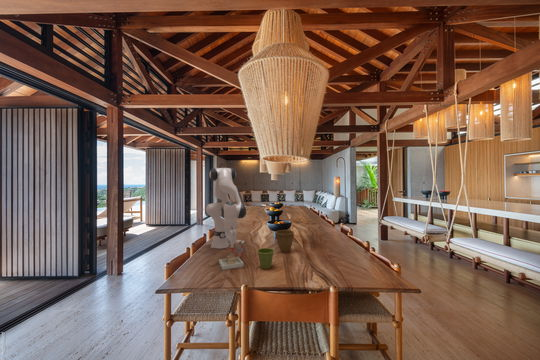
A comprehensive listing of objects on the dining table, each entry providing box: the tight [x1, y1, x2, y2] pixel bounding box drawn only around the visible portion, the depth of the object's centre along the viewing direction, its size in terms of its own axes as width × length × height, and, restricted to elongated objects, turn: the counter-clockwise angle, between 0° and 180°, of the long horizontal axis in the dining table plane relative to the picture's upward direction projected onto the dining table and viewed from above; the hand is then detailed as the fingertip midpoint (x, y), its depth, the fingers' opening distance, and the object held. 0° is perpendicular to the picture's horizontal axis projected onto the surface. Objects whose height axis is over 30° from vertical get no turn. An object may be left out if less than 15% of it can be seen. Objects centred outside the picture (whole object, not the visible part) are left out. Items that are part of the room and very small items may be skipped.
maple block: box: [226, 255, 235, 265], centre depth 165 cm, size 5×5×5 cm
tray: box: [218, 257, 245, 271], centre depth 165 cm, size 14×14×3 cm
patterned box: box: [227, 239, 246, 259], centre depth 186 cm, size 21×6×12 cm, turn 168°
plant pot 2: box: [275, 229, 295, 253], centre depth 195 cm, size 15×15×16 cm
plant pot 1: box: [256, 247, 275, 270], centre depth 161 cm, size 12×12×11 cm
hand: (230, 245), depth 165 cm, fingers open, 8 cm apart
